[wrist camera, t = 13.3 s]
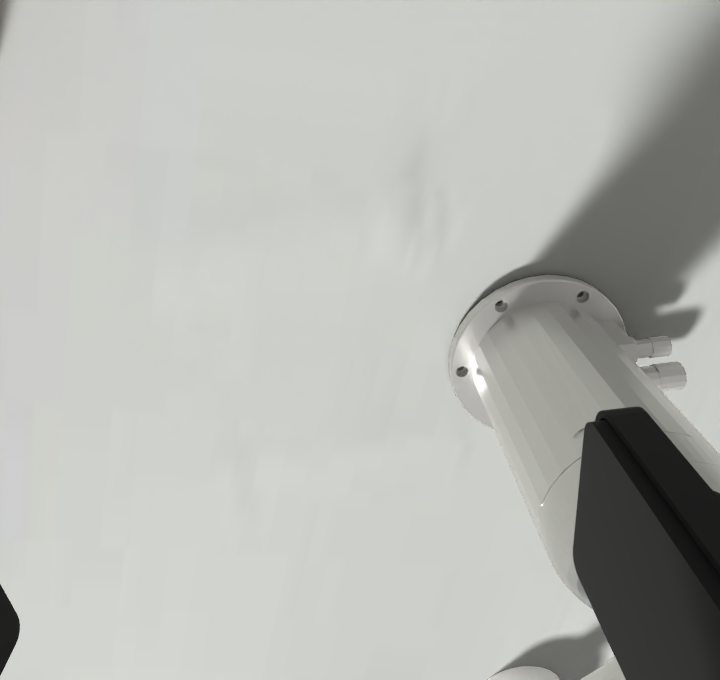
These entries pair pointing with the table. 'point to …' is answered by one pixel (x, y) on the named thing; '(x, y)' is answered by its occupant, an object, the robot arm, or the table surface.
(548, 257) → the table surface
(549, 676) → the base with upright slab
